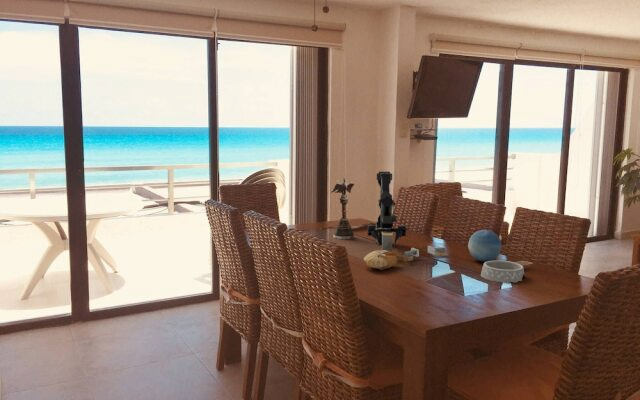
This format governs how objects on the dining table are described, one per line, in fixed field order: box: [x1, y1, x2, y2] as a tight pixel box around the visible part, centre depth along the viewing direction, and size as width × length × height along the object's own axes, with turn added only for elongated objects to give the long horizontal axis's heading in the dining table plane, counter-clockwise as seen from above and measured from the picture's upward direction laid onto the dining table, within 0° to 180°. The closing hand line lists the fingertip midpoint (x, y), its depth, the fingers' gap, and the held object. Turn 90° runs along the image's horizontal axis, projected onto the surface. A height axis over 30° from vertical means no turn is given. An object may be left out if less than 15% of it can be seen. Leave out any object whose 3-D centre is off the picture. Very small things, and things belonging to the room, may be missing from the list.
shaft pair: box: [402, 245, 447, 262], centre depth 267 cm, size 6×23×5 cm, turn 116°
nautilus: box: [363, 249, 409, 271], centre depth 248 cm, size 8×21×15 cm
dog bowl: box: [480, 259, 526, 284], centre depth 234 cm, size 17×18×5 cm
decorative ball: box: [467, 229, 502, 263], centre depth 259 cm, size 15×15×15 cm
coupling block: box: [381, 231, 394, 252], centre depth 265 cm, size 5×5×13 cm
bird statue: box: [330, 177, 355, 240], centre depth 314 cm, size 17×13×35 cm
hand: (387, 245), depth 264 cm, fingers open, 7 cm apart
